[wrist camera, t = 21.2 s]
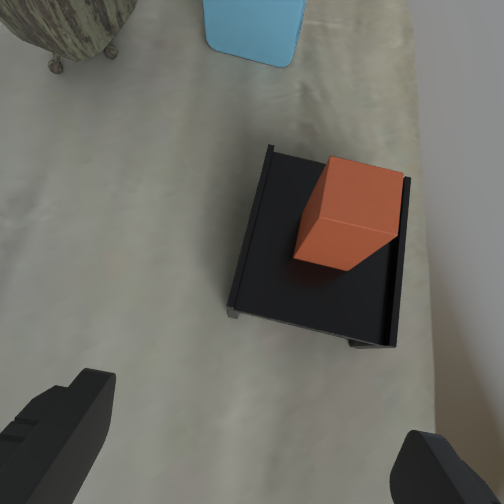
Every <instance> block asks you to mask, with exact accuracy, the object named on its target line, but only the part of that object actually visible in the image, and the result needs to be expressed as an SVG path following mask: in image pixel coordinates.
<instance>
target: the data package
mask: <svg viewBox="0 0 504 504" xmlns="http://www.w3.org/2000/svg"><path fill="white" fill-rule="evenodd" d="M202 1H203V12H204V24H205V35H206V40H207V42H208V44H209V45H210V47H212V48H213V49H214V50H216V51H220V52H223V53H227V54H231V55H235V56H239V57H242V58H246V59H250V60H254V61H257V62H261V63H265V64H269V65H273V66H276V67H285V66H287V65H289V64H290V62H291V60H292V57H293V54H294V51H295V48H296V45H297V42H298V38H299V34H300V29H301V24H302V19H303V15H304V10H305V5H306V0H202Z"/></svg>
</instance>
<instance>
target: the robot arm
mask: <svg viewBox="0 0 504 504" xmlns="http://www.w3.org/2000/svg"><path fill="white" fill-rule="evenodd" d="M115 383H116V374H115V373H111V372H106V371H100V370H95V369H89V368H85V369H83V370H82V371H81V372H80V373H79V375H78V376H77V377H76V378H75V379H74V381H73V382H72V383H71V384H70V385H69V387H62V386H57V385H55V386H53V387H52V388H50V389H48V390H47V391H45V392H43V393H42V394H40V395H38V396H37V397H35V398H33V399H32V400H31V401H30V402H29V403H28V404H27V405H26V406H25V408H24V409H23V410H22V411H21V412H20V413H19V414H18V415H17V416H16V417H15V420H14V421H11V422H10V424H9V425H8V426H7V427H6V428H5V429H4V430H3V431H2V432H1V433H0V504H72V503H73V501H74V499H75V497H76V495H77V493H78V492H79V490H80V488H81V486H82V484H83V482H84V480H85V478H86V476H87V475H88V473H89V471H90V469H91V467H92V465H93V463H94V461H95V459H96V458H97V456H98V454H99V452H100V450H101V448H102V446H103V444H104V441H105V439H106V436H107V433H108V430H109V426H110V422H111V415H112V407H113V399H114V391H115ZM390 492H391V496H392V499H393V502H394V504H501V503H500V501H499V500H498V499H497V498H496V496H495V495H494V493H493V492H492V491H491V489H490V488H489V487H488V485H487V484H486V483H485V481H484V480H483V479H482V478H481V477H480V476H479V475H478V474H476V473H475V472H474V471H473V470H472V469H471V468H470V467H469V466H468V465H467V464H466V463H465V462H464V461H462V460H461V459H460V458H459V456H458V455H457V453H456V452H455V451H454V449H453V448H452V446H451V445H450V444H449V442H448V441H447V440H446V438H444V437H443V436H441V435H438V434H433V433H428V432H422V431H417V430H411V431H410V432H409V433H408V434H407V436H406V438H405V440H404V443H403V445H402V447H401V449H400V452H399V454H398V456H397V459H396V461H395V463H394V466H393V468H392V470H391V474H390Z"/></svg>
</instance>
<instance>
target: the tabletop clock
mask: <svg viewBox="0 0 504 504" xmlns="http://www.w3.org/2000/svg"><path fill="white" fill-rule="evenodd" d="M136 3H137V0H0V21H1V22H2V23H3V24H4V25H5V26H6V27H7V28H8V29H9V30H10V31H11V32H12V33H13V34H14V35H16V36H17V37H18V38H20V39H21V40H23V41H26V42H28V43H31V44H33V45H36V46H38V47H41V48H43V49H46V50H48V51H51V52H53V53H54V60H51V61H49V63H48V67H49V69H50V71H51V72H53V73H54V74H60V73H61V72H62V69H63V67H62V65H61V63H60V62H59V59H60V55H61V56H63V57H66V58H68V59H71V60H73V61H76V62H77V61H81V60H84V59H87V58H90V57H93V56H95V55H97V54H99V53H100V52H101V51H102V50H103V49H104V53H105V55H106V57H107V58H110V59H114V58H116V56H117V51H116V49H115V47H114V46H112V45H108V44H109V42H110V41H111V40H112V39H113V38H114V37H115V36H116V34H117V33H118V32H119V31H120V29H121V28H122V26H123V25H124V23H125V22H126V21H127V19H128V18H129V16H130V15H131V13H132V12H133V10H134V8H135V6H136Z"/></svg>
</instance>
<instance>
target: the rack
mask: <svg viewBox="0 0 504 504" xmlns="http://www.w3.org/2000/svg"><path fill="white" fill-rule="evenodd" d="M273 151H274V145H270V144H269V145H268V149H267V152H266V156H265V160H264V164H263V168H262V172H261V176H260V179H259V183H258V187H257V191H256V195H255V199H254V203H253V206H252V210H251V214H250V218H249V222H248V226H247V230H246V233H245V237H244V241H243V245H242V249H241V253H240V257H239V260H238V264H237V268H236V272H235V276H234V280H233V284H232V287H231V291H230V295H229V299H228V303H227V311H228V317H231V318H235V319H238V315H239V313H243V314H247V315H251V316H256V317H260V318H264V319H268V320H272V321H276V322H280V323H284V324H288V325H292V326H296V327H300V328H305V329H309V330H313V331H317V332H321V333H325V334H329V335H333V336H337V337H341V338H345V339H349V340H351V341H350V347H353V348H357V349H370V348H396V344H397V332H398V321H399V310H400V298H401V287H402V276H403V264H404V253H405V241H406V230H407V219H408V207H409V196H410V185H411V177H406V176H405V177H404V178H403V185H402V196H401V206H400V216H399V226H398V235H397V236H396V237H395V238H394V239H392V240H391V241H389V242H388V243H387V244H385V245H384V246H382V247H381V248H380V249H378V250H377V251H375V252H374V253H373V254H371V255H370V256H368V257H367V258H366V259H364V260H363V261H361V262H360V263H359V264H357V265H356V266H354V267H353V268H351V269H350V270H349V271H345V270H341V269H337V268H333V267H329V266H324V265H320V264H316V263H312V262H308V261H304V260H300V259H295V258H293V256H294V251H295V246H296V241H297V236H298V232H299V227H300V222H301V217H302V212H303V210H304V208H305V206H306V204H307V202H308V200H309V198H310V196H311V194H312V192H313V190H314V188H315V186H316V184H317V182H318V180H319V178H320V176H321V174H322V172H323V170H324V168H325V166H326V164H323V163H319V162H315V161H311V160H306V159H302V158H298V157H294V156H289V155H285V154H281V153H277V152H273Z"/></svg>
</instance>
